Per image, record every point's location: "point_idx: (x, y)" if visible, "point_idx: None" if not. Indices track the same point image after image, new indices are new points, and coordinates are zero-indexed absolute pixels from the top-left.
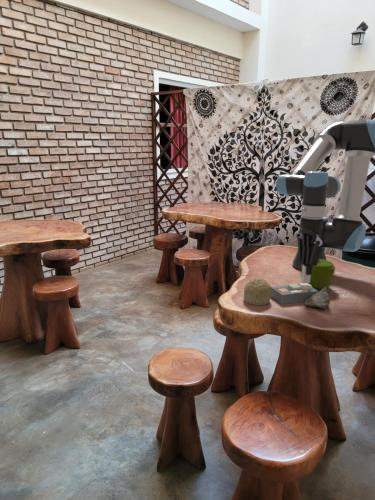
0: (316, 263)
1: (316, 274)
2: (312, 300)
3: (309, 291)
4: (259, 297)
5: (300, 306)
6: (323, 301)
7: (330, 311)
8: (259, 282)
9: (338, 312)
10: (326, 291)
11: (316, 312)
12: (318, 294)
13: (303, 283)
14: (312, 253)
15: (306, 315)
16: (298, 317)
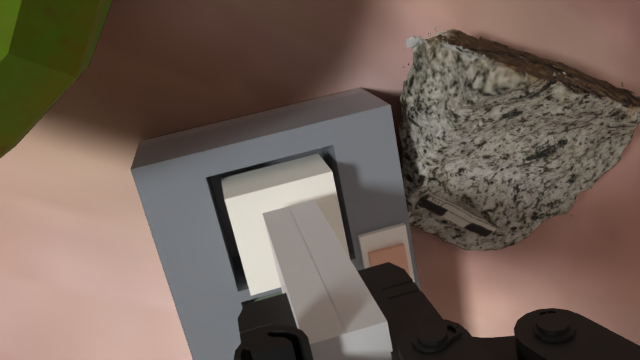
0: (607, 343)
1: (96, 36)
2: (499, 203)
3: (395, 207)
4: None
5: (473, 279)
6: (595, 142)
7: (597, 76)
8: None
9: (627, 16)
10: (563, 92)
11: (590, 195)
12: (475, 141)
13: (248, 243)
14: None
15: (617, 281)
16: (631, 338)
